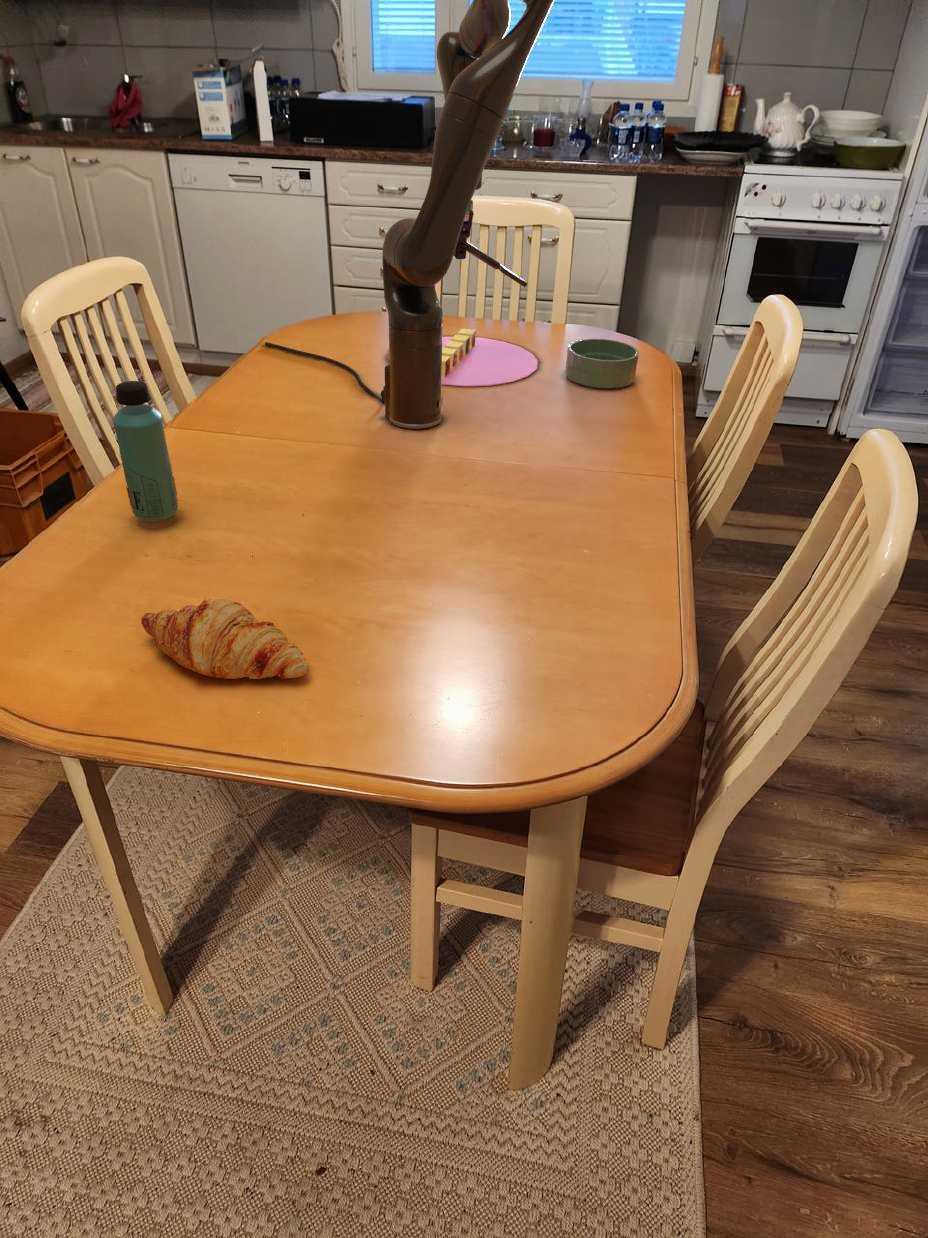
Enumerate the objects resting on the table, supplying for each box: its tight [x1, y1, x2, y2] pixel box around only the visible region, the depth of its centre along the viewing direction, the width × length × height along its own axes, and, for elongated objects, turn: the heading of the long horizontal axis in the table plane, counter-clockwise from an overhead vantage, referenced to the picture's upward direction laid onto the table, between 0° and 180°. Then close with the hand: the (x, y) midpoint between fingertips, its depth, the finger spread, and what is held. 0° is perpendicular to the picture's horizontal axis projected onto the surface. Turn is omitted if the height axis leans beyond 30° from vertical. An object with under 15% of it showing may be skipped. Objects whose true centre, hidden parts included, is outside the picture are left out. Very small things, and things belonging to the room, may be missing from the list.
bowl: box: [564, 338, 640, 389], centre depth 177 cm, size 14×14×6 cm
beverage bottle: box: [112, 380, 180, 522], centre depth 118 cm, size 6×7×20 cm
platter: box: [387, 328, 539, 387], centre depth 184 cm, size 32×32×3 cm
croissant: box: [140, 598, 310, 680], centre depth 97 cm, size 21×10×8 cm, turn 71°
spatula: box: [466, 241, 528, 288], centre depth 174 cm, size 18×4×11 cm, turn 100°
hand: (459, 257), depth 173 cm, fingers closed on spatula, 1 cm apart
